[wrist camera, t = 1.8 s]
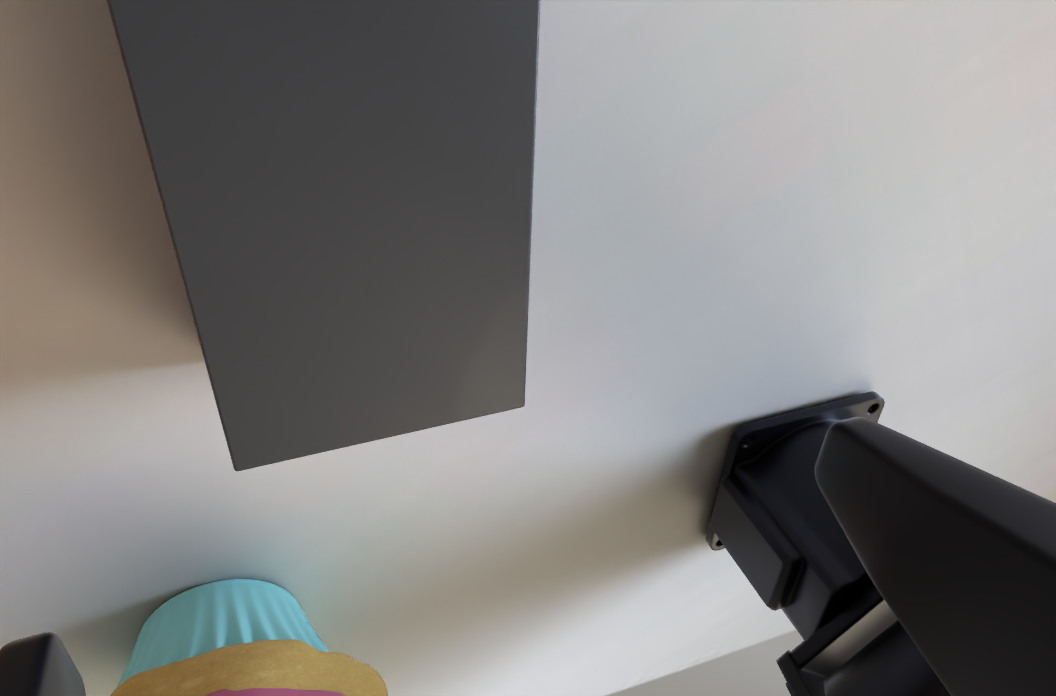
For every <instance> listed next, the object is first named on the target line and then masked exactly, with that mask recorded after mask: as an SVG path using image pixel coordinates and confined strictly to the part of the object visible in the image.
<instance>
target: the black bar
mask: <svg viewBox="0 0 1056 696" xmlns="http://www.w3.org/2000/svg"><path fill="white" fill-rule="evenodd" d="M107 3H108V7H109V10H110V14H111V18H112V21H113V25H114V29H115V33H116V36H117V40H118V44H119V47H120V51H121V55H122V58H123V62H124V66H125V69H126V73H127V77H128V80H129V84H130V88H131V91H132V95H133V99H134V102H135V106H136V110H137V113H138V117H139V121H140V125H141V128H142V132H143V136H144V139H145V143H146V147H147V150H148V154H149V158H150V161H151V165H152V169H153V172H154V176H155V180H156V183H157V187H158V191H159V194H160V198H161V202H162V205H163V209H164V213H165V217H166V220H167V224H168V228H169V231H170V235H171V239H172V242H173V246H174V250H175V253H176V257H177V261H178V264H179V268H180V272H181V275H182V279H183V283H184V286H185V290H186V294H187V297H188V301H189V305H190V308H191V312H192V316H193V320H194V323H195V327H196V331H197V334H198V338H199V342H200V345H201V349H202V353H203V356H204V360H205V364H206V367H207V371H208V375H209V378H210V382H211V386H212V389H213V393H214V397H215V400H216V404H217V408H218V412H219V415H220V419H221V423H222V426H223V430H224V434H225V437H226V441H227V445H228V448H229V452H230V456H231V459H232V463H233V467H234V469H235V471H241V470H246V469H250V468H254V467H259V466H263V465H268V464H272V463H277V462H281V461H285V460H290V459H294V458H299V457H303V456H308V455H312V454H316V453H321V452H325V451H330V450H334V449H339V448H343V447H347V446H352V445H356V444H361V443H365V442H370V441H374V440H378V439H383V438H387V437H392V436H396V435H401V434H405V433H409V432H414V431H418V430H423V429H427V428H432V427H436V426H441V425H445V424H449V423H454V422H458V421H463V420H467V419H472V418H476V417H480V416H485V415H489V414H494V413H498V412H503V411H507V410H511V409H516V408H520V407H523V406H524V403H525V377H526V352H527V326H528V301H529V276H530V250H531V225H532V199H533V174H534V148H535V123H536V97H537V72H538V46H539V21H540V0H107Z"/></svg>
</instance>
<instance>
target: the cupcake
mask: <svg viewBox="0 0 1056 696" xmlns="http://www.w3.org/2000/svg"><path fill="white" fill-rule="evenodd" d="M110 696H388V693H387V689H386V686H385V683H384V681H383V679H382V678H381V676H380V675H379V674H378V673H377V672H376V671H375V670H374V669H373V668H372V667H371V666H369V665H367V664H364V663H361V662H359V661H357V660H355V659H353V658H351V657H349V656H347V655H345V654H342V653H336V652H330V651H329V650H328V649H327V648H326V646H325V645H324V644H323V642H322V641H321V640H320V638H319V637H318V635H317V634H316V632H315V631H314V629H313V628H312V626H311V624H310V623H309V621H308V619H307V618H306V616H305V614H304V612H303V611H302V609H301V607H300V605H299V603H298V602H297V600H296V599H295V598H294V597H293V596H292V595H291V594H290V593H289V592H288V591H286V590H285V589H283V588H281V587H279V586H277V585H275V584H272V583H269V582H265V581H260V580H253V579H229V580H221V581H216V582H211V583H207V584H203V585H200V586H197V587H194V588H192V589H189V590H187V591H184V592H182V593H180V594H178V595H176V596H175V597H173V598H171V599H170V600H168V601H167V602H165V603H164V604H162V605H161V606H160V607H159V608H157V609H156V610H155V611H154V612H153V613H152V614H151V615H150V617H149V618H148V619H147V620H146V622H145V623H144V625H143V626H142V628H141V630H140V632H139V635H138V638H137V641H136V644H135V646H134V649H133V652H132V654H131V657H130V659H129V662H128V664H127V667H126V669H125V671H124V674H123V676H122V678H121V681H120V683H119V685H118V687H117V689H116V690H115V691H114V692H113V693H112V694H111V695H110Z"/></svg>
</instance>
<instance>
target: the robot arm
mask: <svg viewBox="0 0 1056 696" xmlns="http://www.w3.org/2000/svg"><path fill="white" fill-rule="evenodd" d="M884 403H885V402H884V399H882V398H881V397H880V396H879V395H878V394H877V393H875V392H868V393H864V394H860V395H856V396H852V397H848V398H844V399H841V400H837V401H833V402H829V403H825V404H821V405H817V406H813V407H809V408H805V409H801V410H798V411H794V412H790V413H786V414H782V415H778V416H774V417H770V418H766V419H762V420H758V421H755V422H751V423H747V424H744V425H742V426H740V427H739V428H737V429H736V430H735V431H734V433H733V435H732V437H731V440H730V444H729V448H728V452H727V456H726V460H725V464H724V468H723V471H722V475H721V479H720V483H719V487H718V491H717V495H716V499H715V503H714V507H713V510H712V514H711V518H710V522H709V526H708V530H707V534H706V542H707V543H708V545H709V546H710V547H711V549H712V550H720V549H724V548H726V549H727V551H728V552H729V554H730V555H731V556H732V558H733V559H734V561H735V562H736V563H737V565H738V566H739V568H740V569H741V570H742V572H743V573H744V575H745V576H746V577H747V579H748V580H749V582H750V583H751V584H752V586H753V587H754V589H755V590H756V592H757V593H758V594H759V596H760V597H761V599H762V600H763V601H764V603H765V604H766V605H767V606H768V607H769V608H771V609H772V610H778V609H782V610H783V612H784V613H785V614H786V616H787V617H788V618H789V620H790V621H791V623H792V624H793V625H794V627H795V628H796V629H797V631H798V632H799V633H800V635H801V636H802V638H803V639H804V641H803V642H802V643H801V644H800V645H798V646H797V647H796V648H795V649H794V650H792V651H787V652H786V653H784V654H783V655H782V656H781V657H780V658H778V659H777V664H778V665H779V667H780V669H781V671H782V673H783V675H784V677H785V679H786V681H787V682H786V686H787V688H788V690H789V692H790V694H791V696H1056V503H1054V502H1052V501H1050V500H1047V499H1045V498H1043V497H1041V496H1038V495H1036V494H1034V493H1032V492H1030V491H1027V490H1025V489H1023V488H1021V487H1018V486H1016V485H1014V484H1012V483H1010V482H1007V481H1005V480H1003V479H1001V478H998V477H996V476H994V475H992V474H989V473H987V472H985V471H983V470H981V469H978V468H976V467H974V466H972V465H969V464H967V463H965V462H963V461H961V460H958V459H956V458H954V457H952V456H949V455H947V454H945V453H943V452H941V451H938V450H936V449H934V448H932V447H929V446H927V445H925V444H923V443H921V442H918V441H916V440H914V439H912V438H909V437H907V436H905V435H903V434H901V433H898V432H896V431H894V430H892V429H889V428H887V427H885V426H883V425H881V424H878V423H877V422H878V419H879V417H880V414H881V412H882V409H883V407H884ZM0 696H86V694H85V688H84V684H83V681H82V678H81V676H80V674H79V672H78V670H77V669H76V667H75V665H74V663H73V661H72V660H71V658H70V656H69V654H68V653H67V651H66V649H65V647H64V646H63V644H62V642H61V640H60V639H59V637H58V636H57V635H55V634H54V633H51V632H47V633H42V634H38V635H34V636H31V637H27V638H23V639H19V640H15V641H12V642H10V643H8V644H6V645H5V646H4V647H3V648H1V650H0Z"/></svg>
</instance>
